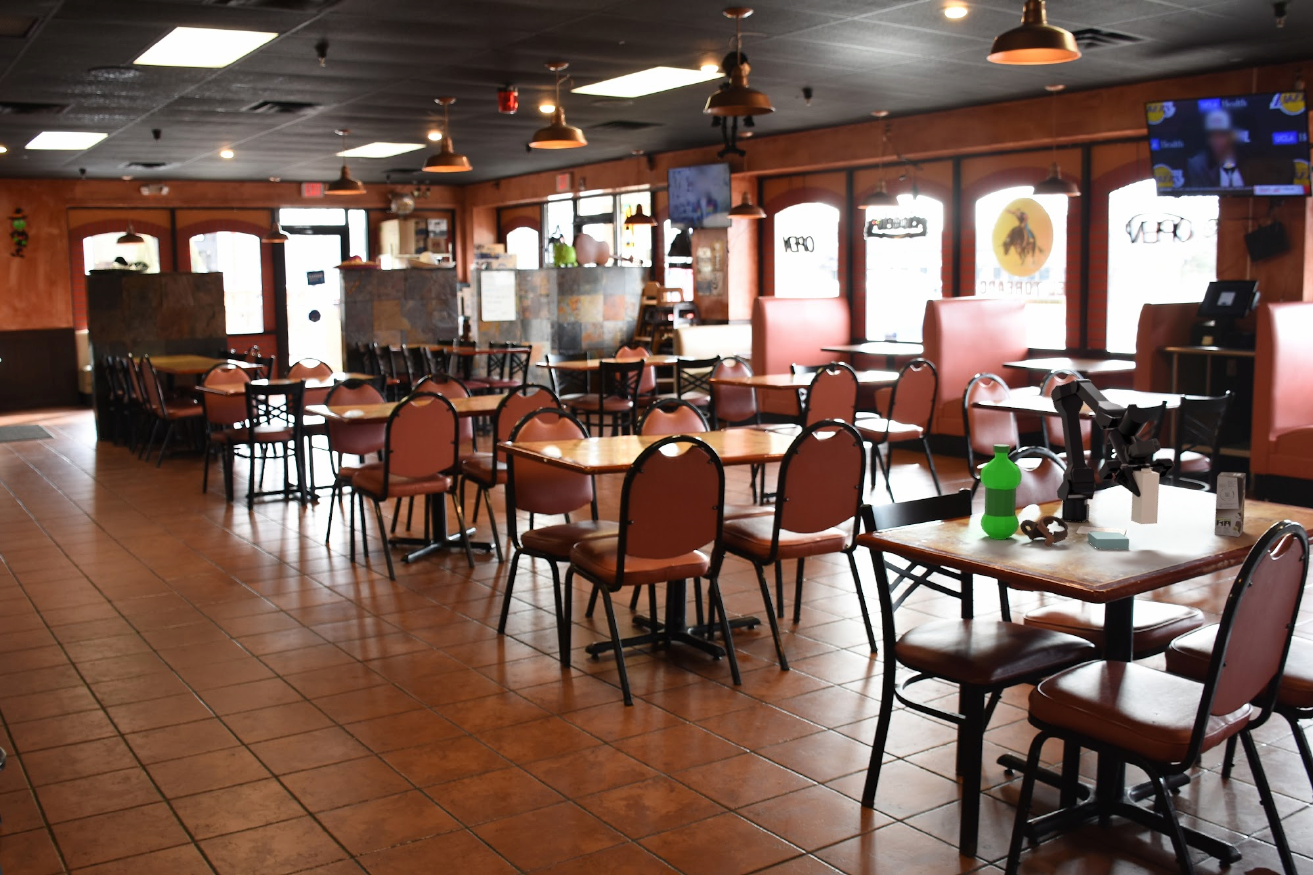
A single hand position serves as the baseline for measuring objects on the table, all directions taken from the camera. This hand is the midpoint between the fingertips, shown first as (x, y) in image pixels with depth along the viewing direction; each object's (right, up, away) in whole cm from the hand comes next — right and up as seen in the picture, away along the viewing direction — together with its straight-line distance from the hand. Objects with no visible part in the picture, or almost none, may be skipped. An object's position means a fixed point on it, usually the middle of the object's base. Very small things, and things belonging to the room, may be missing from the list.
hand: (1148, 495), depth 304 cm
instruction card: (-4, -11, +20) cm, 24 cm away
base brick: (-9, -14, +4) cm, 17 cm away
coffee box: (+29, -11, +17) cm, 36 cm away
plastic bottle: (-34, -12, +16) cm, 39 cm away
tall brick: (0, -7, +2) cm, 7 cm away
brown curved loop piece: (-24, -13, +8) cm, 29 cm away
